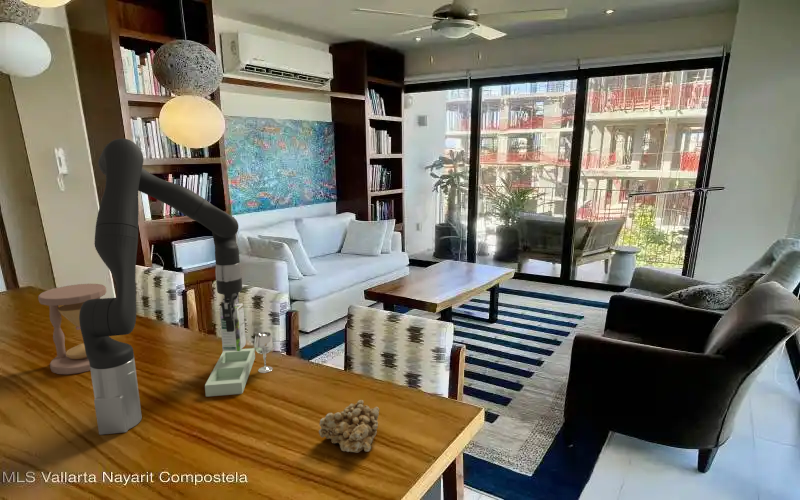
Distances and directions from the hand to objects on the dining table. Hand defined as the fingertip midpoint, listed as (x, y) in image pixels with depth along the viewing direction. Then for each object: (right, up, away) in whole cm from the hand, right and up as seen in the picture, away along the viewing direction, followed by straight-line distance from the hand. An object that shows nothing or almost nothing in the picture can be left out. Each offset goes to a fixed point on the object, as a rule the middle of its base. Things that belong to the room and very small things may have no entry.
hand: (232, 327), depth 139 cm
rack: (+1, -15, -3) cm, 15 cm away
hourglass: (-52, -13, +6) cm, 54 cm away
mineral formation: (+43, -21, -34) cm, 59 cm away
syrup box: (0, -7, +1) cm, 7 cm away
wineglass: (+10, -14, +1) cm, 18 cm away
